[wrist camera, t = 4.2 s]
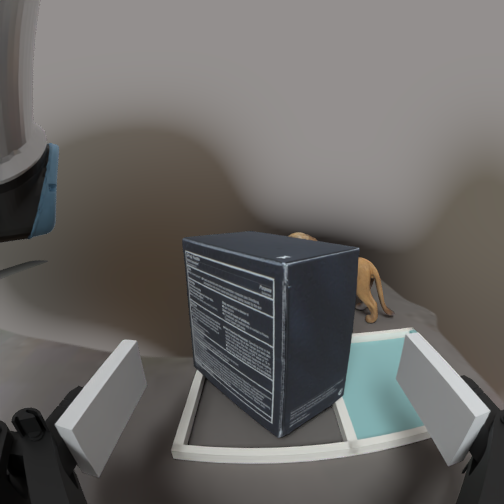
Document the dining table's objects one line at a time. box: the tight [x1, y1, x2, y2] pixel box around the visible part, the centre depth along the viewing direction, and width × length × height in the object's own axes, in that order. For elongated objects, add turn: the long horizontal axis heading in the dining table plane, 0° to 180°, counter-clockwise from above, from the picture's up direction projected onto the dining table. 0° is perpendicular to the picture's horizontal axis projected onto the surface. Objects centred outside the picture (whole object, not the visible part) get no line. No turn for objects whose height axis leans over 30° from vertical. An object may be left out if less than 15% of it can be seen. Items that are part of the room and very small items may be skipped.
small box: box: [182, 231, 359, 438], centre depth 19 cm, size 11×6×10 cm, turn 38°
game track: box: [171, 328, 431, 464], centre depth 20 cm, size 21×14×1 cm
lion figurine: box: [289, 233, 395, 323], centre depth 35 cm, size 15×5×9 cm, turn 55°
